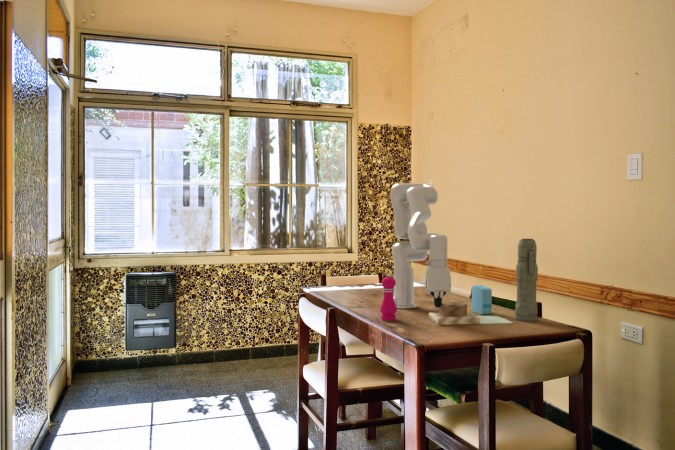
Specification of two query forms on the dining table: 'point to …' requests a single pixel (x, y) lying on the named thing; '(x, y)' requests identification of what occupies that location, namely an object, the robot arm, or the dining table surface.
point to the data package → (481, 300)
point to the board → (454, 319)
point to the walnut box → (453, 309)
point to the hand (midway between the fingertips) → (437, 307)
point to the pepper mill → (388, 299)
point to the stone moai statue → (526, 281)
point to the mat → (493, 320)
